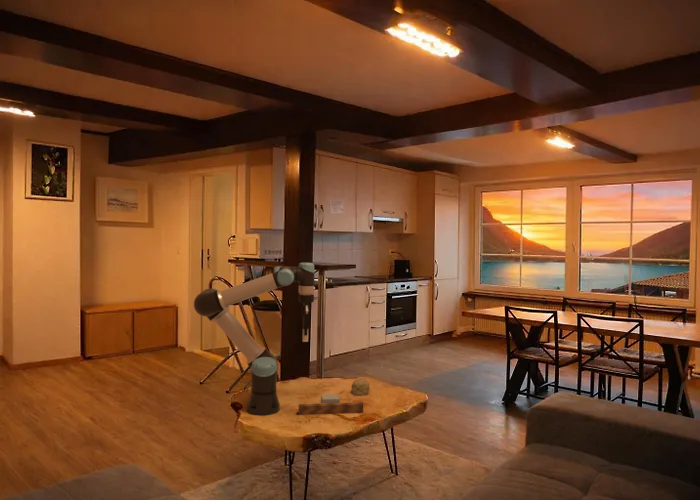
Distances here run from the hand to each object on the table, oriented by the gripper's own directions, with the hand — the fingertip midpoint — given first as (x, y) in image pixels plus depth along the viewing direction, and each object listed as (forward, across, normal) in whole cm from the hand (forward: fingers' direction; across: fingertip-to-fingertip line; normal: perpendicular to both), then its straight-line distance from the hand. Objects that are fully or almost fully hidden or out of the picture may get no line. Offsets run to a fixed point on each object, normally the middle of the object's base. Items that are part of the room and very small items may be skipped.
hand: (305, 341), depth 264 cm
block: (+30, -14, -11) cm, 35 cm away
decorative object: (+30, +8, -30) cm, 43 cm away
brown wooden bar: (+29, -19, -11) cm, 37 cm away
